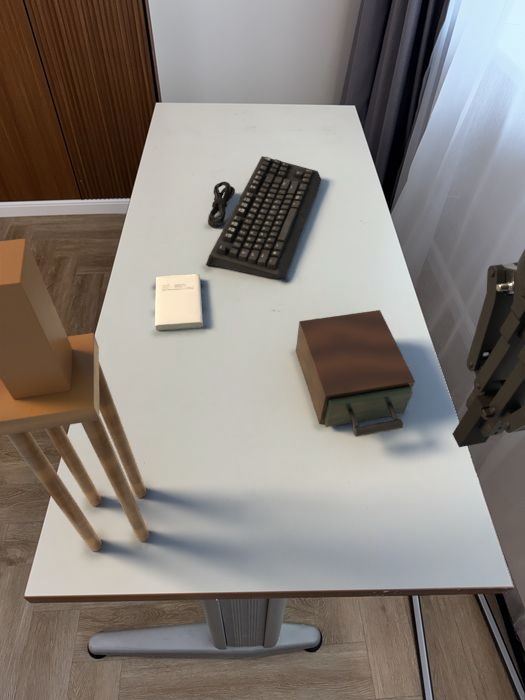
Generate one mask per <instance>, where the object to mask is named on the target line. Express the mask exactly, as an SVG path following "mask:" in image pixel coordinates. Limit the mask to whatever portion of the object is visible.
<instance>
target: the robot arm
mask: <svg viewBox="0 0 525 700" xmlns="http://www.w3.org/2000/svg"><path fill="white" fill-rule="evenodd" d="M486 272H487V273H486V274H487V275H486V293H485V297H484V301H483V303H482V307H481V310H480V314H479V317H478V321H477V324H476V328H475V332H474V334H473V339H472V342H471V345H470V349H469V351H468V352H469V353H468V356H467V359H466V367H467V370H468V371H469V372H473V373H474V375H475V379H474V380H473V389H472V390H471V392H470V394H469V395H468V398H467V399H466V402H465V407H466V409H467V410H466V412H465V413H464V415H463V416H462V417H461V419H460V421H459V422H458V424H457V426H456V427H455V429H454V431H453V432H452V436H453V438H454V440H455V442H456V444H457V446H458V448H464V447H468V446H474V445H479V444H484V443H487V441H488V440H489V438H490V437H492V436H497V435H501V434H503V433H504V431H505V432H506V433H507V434H511V433H517V432H523V431H525V248H524V249H523V251H522V253H521V255H520V257H519V259H518V261H517V262H508V263H501V264H493V265H490V266H489V267H488V268H487V271H486ZM484 354H485V355H484Z"/></svg>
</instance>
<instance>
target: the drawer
mask: <svg viewBox="0 0 525 700" xmlns="http://www.w3.org/2000/svg"><path fill="white" fill-rule="evenodd" d="M413 394H414V392H413V388H412V389H411V387H410V386H406V387H400V388H399V387H395V388H389V389H383V390H377V391H371V392H365V393H359V394H353V395H347V396H340V397H334V398H330V399H329V401H328V405H327V410H326V414H325V418H324V422H325V423H324V425H325V427H326V428H329V427H334V426H339V425H344V424H351V423H352V427H353V428H352V431H353V435H354V437H355V438H357V437H362V436H368V435H369V436H370V435H375V434H380V433H385V432H391V431H397V430H402V429H403V428H404V422H403V420H402V418H399V417H398V415H402V414H404V413H405V411H406V409H407V406H408V405H409V402H410V400H411V397H412V395H413ZM386 417H391V418H392V419H391V420H385V421H380V422H374V423H368V424H363V425H359V422H363V421H369V420H374V419H380V418H386Z"/></svg>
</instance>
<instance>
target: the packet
mask: <svg viewBox="0 0 525 700" xmlns="http://www.w3.org/2000/svg"><path fill="white" fill-rule="evenodd" d="M0 379H1V381H2V382H3V384H4V385H5V387H6V389H7V390H8V392H9V393H10V395H11V396H12V398H13V399H20V398H26V397H33V396H39V395H46V394H53V393H59V392H66V391H71V380H72V347H71V344H70V342H69V340H68V335H67V333H66V330H65V328H64V326H63V323H62V321H61V319H60V316H59V313H58V312H57V309H56V307H55V304H54V302H53V299H52V297H51V295H50V292H49V289H48V287H47V285H46V282H45V280H44V278H43V276H42V273H41V270H40V269H39V266H38V263H37V261H36V259H35V257H34V254H33V252H32V249H31V246H30V244H29V242H28V240H27V238H18V239H8V240H0Z"/></svg>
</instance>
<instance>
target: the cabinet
mask: <svg viewBox="0 0 525 700" xmlns="http://www.w3.org/2000/svg"><path fill="white" fill-rule="evenodd" d="M295 344H296V346H295V353H296V357H297V359H298V364H299V366H300V369H301V371H302V374H303V379H304V381H305V384H306V388H307V391H308V394H309V396H310V400H311V403H312V406H313V409H314V412H315V415H316V419H317V421H318V425H321V424H325V422H324V418H325V414H326V410H327V405H328V401H329V399H330V398H334V397H340V396H347V395H353V394H359V393H365V392H371V391H377V390H383V389H389V388H395V387H399V388H400V387H406V386H410V387H411V389H412V390H413V387H414V385H415V383H416V380H415V378H414V376H413V374H412V372H411V370H410V368H409V365H408V364H407V362H406V360H405V358H404V356H403V354H402V352H401V350H400V348H399V346H398V343H397V342H396V340H395V338H394V336H393V334H392V332H391V330H390V328H389V325H388V323H387V321H386V319H385V318H384V315H383V313H382V311H381V310H380V309H377V310H369V311H363V312H362V311H361V312H356V313H348V314H347V313H346V314H341V315H333V316H327V317H320V318H313V319H306V320H299V322H298V328H297V337H296V343H295Z"/></svg>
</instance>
